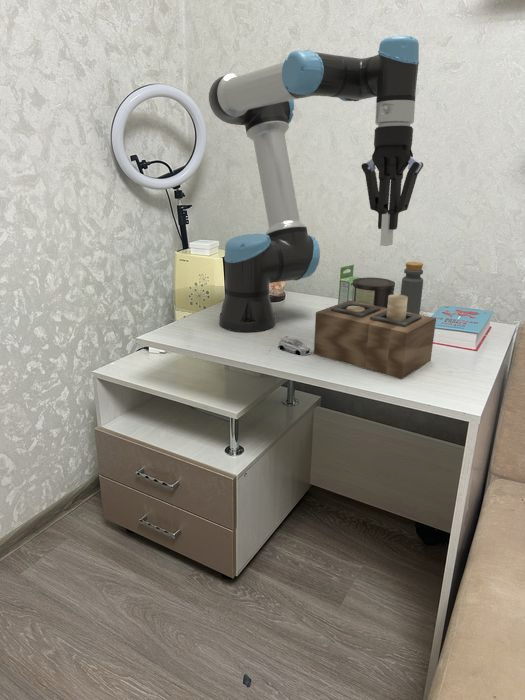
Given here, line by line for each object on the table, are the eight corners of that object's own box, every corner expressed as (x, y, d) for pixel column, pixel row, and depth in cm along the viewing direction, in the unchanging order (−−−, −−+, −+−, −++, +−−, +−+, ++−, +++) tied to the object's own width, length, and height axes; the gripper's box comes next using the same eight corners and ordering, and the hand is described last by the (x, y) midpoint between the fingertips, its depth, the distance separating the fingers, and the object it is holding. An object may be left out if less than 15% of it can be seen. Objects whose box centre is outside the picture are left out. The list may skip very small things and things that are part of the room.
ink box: (348, 315, 151) (351, 269, 146) (336, 313, 154) (339, 267, 149) (361, 311, 156) (365, 266, 151) (350, 308, 158) (353, 264, 154)
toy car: (303, 358, 119) (303, 345, 118) (276, 349, 124) (276, 337, 123) (313, 353, 122) (313, 341, 121) (286, 345, 127) (286, 334, 126)
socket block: (313, 353, 121) (315, 309, 118) (346, 339, 131) (349, 297, 128) (401, 379, 108) (407, 329, 104) (430, 360, 118) (436, 315, 114)
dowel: (381, 337, 114) (385, 296, 111) (390, 333, 117) (393, 293, 114) (398, 341, 112) (402, 300, 109) (406, 336, 115) (411, 296, 111)
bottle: (394, 314, 153) (399, 262, 147) (406, 311, 156) (411, 260, 151) (411, 319, 148) (417, 266, 143) (423, 315, 152) (429, 263, 147)
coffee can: (389, 331, 138) (394, 278, 133) (390, 344, 128) (396, 287, 123) (349, 328, 140) (353, 276, 135) (347, 340, 130) (351, 284, 125)
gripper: (355, 126, 107) (350, 244, 114) (416, 122, 99) (406, 249, 106) (374, 128, 112) (368, 241, 120) (433, 125, 104) (422, 245, 112)
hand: (386, 245), depth 113 cm, fingers closed
